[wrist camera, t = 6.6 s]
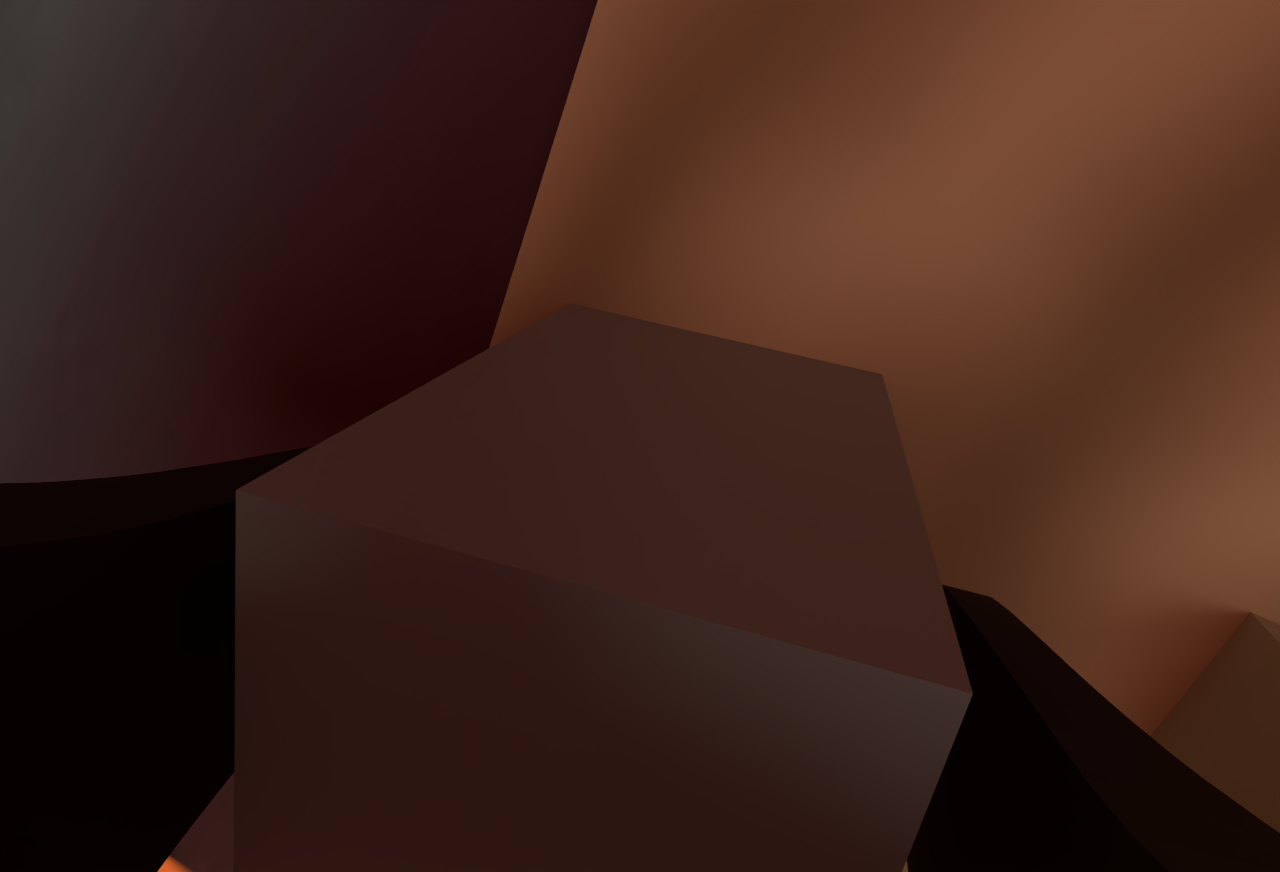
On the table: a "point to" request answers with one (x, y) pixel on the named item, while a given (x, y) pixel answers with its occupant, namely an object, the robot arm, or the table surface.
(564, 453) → the slate carton
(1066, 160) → the shelf board
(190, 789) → the robot arm
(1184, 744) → the sage carton
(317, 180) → the table surface
